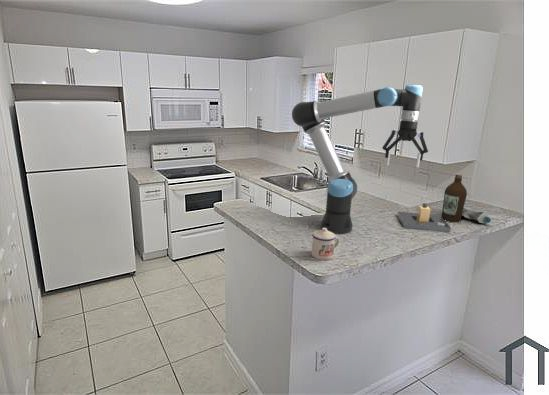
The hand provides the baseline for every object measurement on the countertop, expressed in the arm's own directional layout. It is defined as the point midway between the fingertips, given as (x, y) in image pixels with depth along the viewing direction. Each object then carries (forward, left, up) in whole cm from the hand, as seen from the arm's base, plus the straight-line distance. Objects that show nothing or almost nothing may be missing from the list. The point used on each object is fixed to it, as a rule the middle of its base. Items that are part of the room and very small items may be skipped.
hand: (402, 166), depth 168 cm
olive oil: (+33, +23, -32) cm, 51 cm away
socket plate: (+16, +12, -31) cm, 37 cm away
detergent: (+43, +27, -32) cm, 60 cm away
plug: (+16, +12, -32) cm, 37 cm away
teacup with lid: (-32, -41, -32) cm, 61 cm away
